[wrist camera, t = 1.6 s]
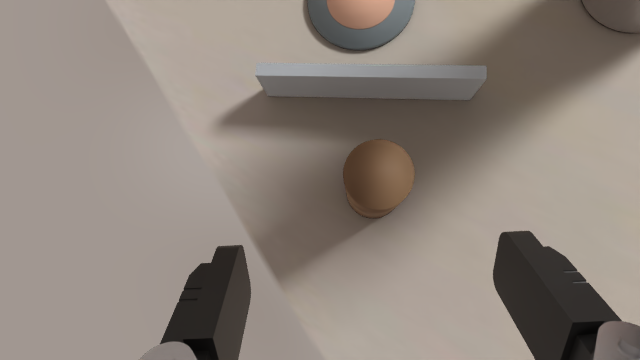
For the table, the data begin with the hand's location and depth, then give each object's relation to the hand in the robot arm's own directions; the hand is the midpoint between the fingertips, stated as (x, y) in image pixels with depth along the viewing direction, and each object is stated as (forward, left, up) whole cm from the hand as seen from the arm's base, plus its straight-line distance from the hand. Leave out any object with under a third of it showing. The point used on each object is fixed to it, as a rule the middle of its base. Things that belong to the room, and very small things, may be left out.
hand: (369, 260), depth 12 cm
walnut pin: (-1, -5, -25) cm, 25 cm away
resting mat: (+1, -25, -25) cm, 36 cm away
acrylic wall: (0, -15, -25) cm, 29 cm away
